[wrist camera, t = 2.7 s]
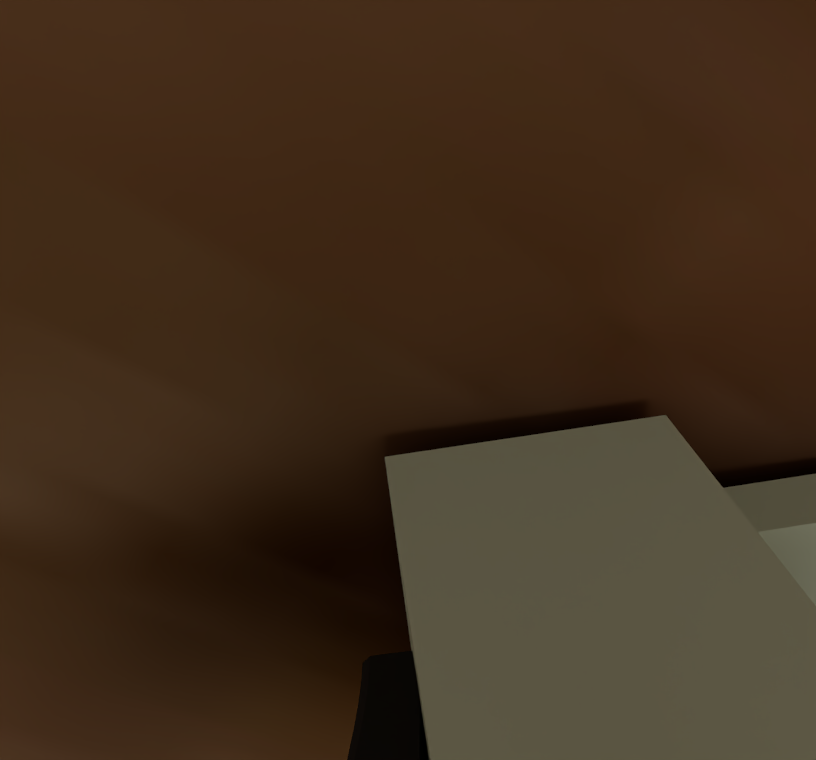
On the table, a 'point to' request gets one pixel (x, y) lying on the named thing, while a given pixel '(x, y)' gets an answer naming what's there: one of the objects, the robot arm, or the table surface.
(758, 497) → the square dumbbell
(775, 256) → the table surface
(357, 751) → the robot arm
